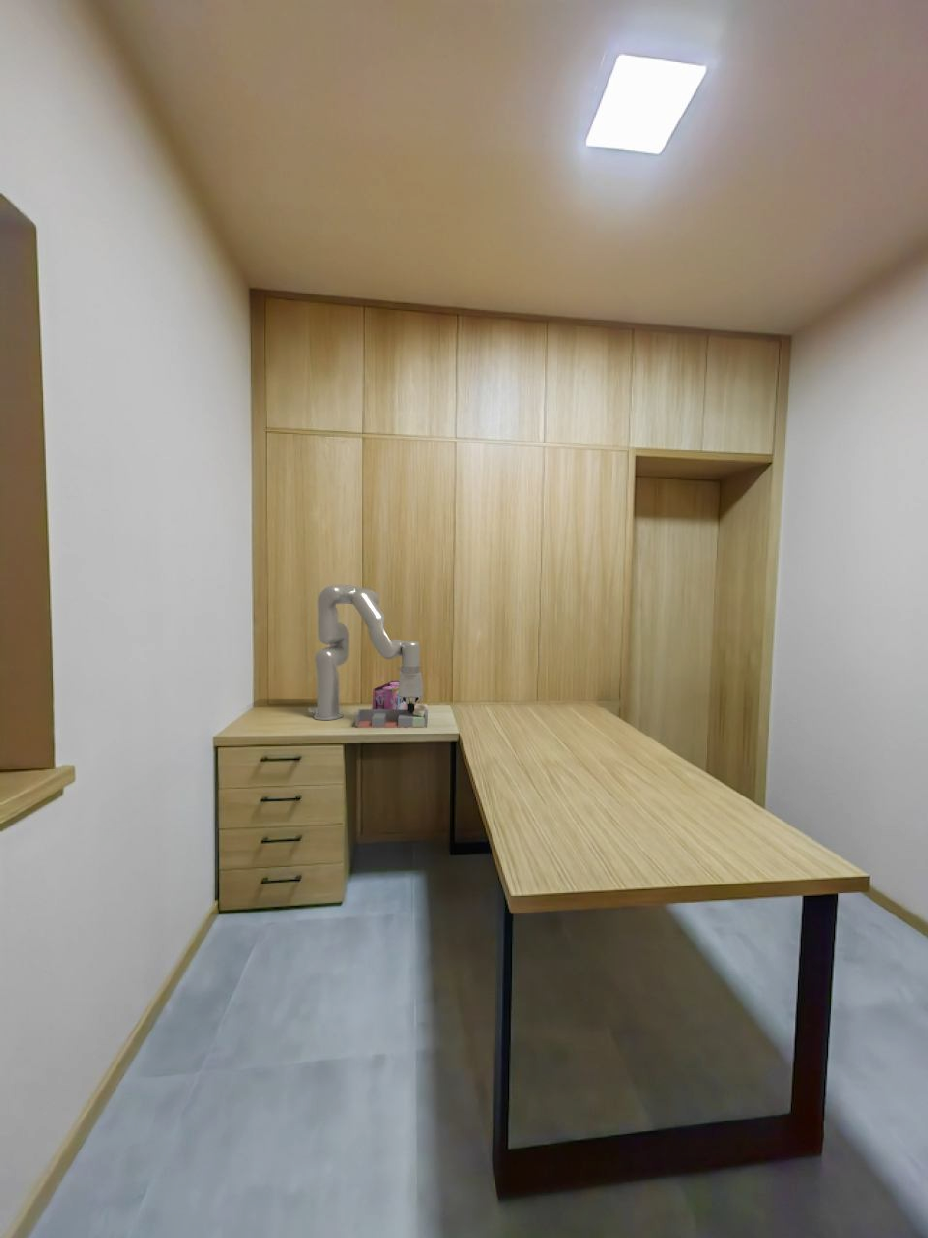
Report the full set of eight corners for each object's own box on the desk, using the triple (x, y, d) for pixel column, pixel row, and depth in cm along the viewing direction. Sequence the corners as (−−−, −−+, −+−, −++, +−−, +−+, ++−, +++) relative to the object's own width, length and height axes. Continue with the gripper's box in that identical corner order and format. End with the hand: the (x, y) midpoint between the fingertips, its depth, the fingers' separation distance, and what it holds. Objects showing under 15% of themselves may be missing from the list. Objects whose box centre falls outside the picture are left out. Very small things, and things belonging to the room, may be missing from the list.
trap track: (355, 727, 205) (355, 714, 204) (359, 721, 214) (359, 709, 213) (426, 727, 206) (427, 714, 206) (427, 721, 215) (427, 709, 215)
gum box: (386, 721, 215) (387, 691, 214) (370, 720, 217) (370, 689, 216) (407, 708, 238) (407, 681, 237) (392, 707, 240) (392, 680, 239)
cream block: (413, 713, 207) (416, 703, 207) (414, 711, 212) (417, 701, 212) (423, 717, 208) (426, 707, 207) (424, 714, 212) (427, 704, 212)
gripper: (392, 671, 205) (392, 714, 206) (428, 671, 205) (427, 714, 206) (394, 668, 212) (394, 710, 213) (428, 668, 213) (428, 710, 214)
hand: (410, 712), depth 210 cm, fingers closed
